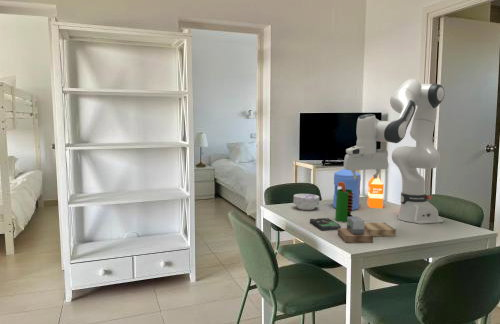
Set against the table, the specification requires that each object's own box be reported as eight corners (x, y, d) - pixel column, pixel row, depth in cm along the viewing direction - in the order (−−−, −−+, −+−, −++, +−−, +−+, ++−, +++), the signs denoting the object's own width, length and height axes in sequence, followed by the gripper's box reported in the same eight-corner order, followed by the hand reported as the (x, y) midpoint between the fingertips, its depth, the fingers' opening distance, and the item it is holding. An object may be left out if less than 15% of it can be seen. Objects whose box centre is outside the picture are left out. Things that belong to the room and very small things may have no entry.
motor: (353, 222, 195) (354, 184, 193) (335, 221, 197) (336, 183, 195) (351, 217, 205) (353, 181, 203) (335, 216, 207) (336, 180, 205)
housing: (357, 229, 173) (358, 216, 172) (363, 234, 165) (364, 221, 164) (346, 229, 173) (347, 216, 172) (352, 234, 165) (353, 221, 164)
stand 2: (384, 228, 185) (384, 222, 185) (395, 236, 173) (395, 229, 173) (360, 228, 184) (360, 222, 184) (369, 236, 173) (370, 229, 172)
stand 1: (363, 234, 175) (363, 228, 175) (372, 242, 163) (373, 235, 163) (337, 234, 175) (337, 228, 174) (345, 242, 163) (345, 236, 162)
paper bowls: (318, 206, 233) (318, 193, 232) (319, 212, 218) (320, 198, 217) (293, 205, 234) (293, 192, 234) (293, 211, 219) (293, 197, 218)
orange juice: (379, 205, 237) (381, 173, 235) (382, 208, 229) (384, 175, 226) (367, 204, 238) (368, 173, 236) (369, 207, 230) (370, 175, 228)
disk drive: (309, 224, 194) (321, 231, 180) (309, 218, 194) (321, 226, 180) (327, 222, 197) (341, 230, 183) (327, 217, 197) (341, 224, 183)
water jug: (357, 205, 236) (359, 160, 233) (361, 211, 221) (363, 163, 218) (332, 204, 238) (333, 160, 235) (333, 210, 223) (335, 162, 220)
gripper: (385, 148, 179) (384, 176, 181) (342, 149, 178) (342, 178, 180) (390, 149, 173) (390, 179, 175) (346, 151, 171) (346, 180, 173)
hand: (365, 178), depth 177 cm, fingers open, 8 cm apart
